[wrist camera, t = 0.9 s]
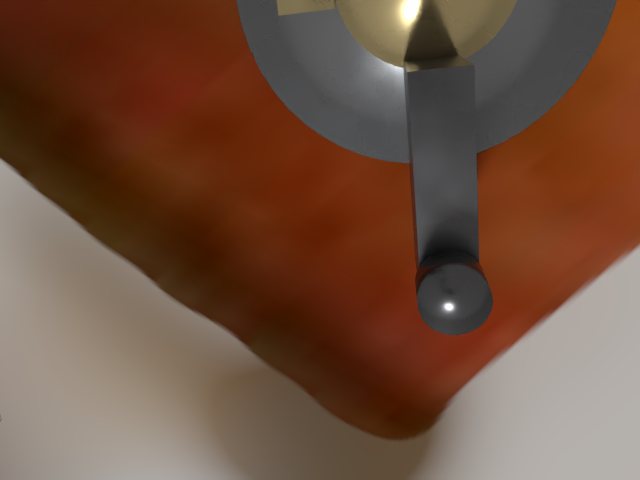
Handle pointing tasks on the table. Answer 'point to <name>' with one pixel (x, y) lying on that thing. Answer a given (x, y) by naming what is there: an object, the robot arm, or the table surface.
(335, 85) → the post plate
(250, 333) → the table surface
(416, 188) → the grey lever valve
